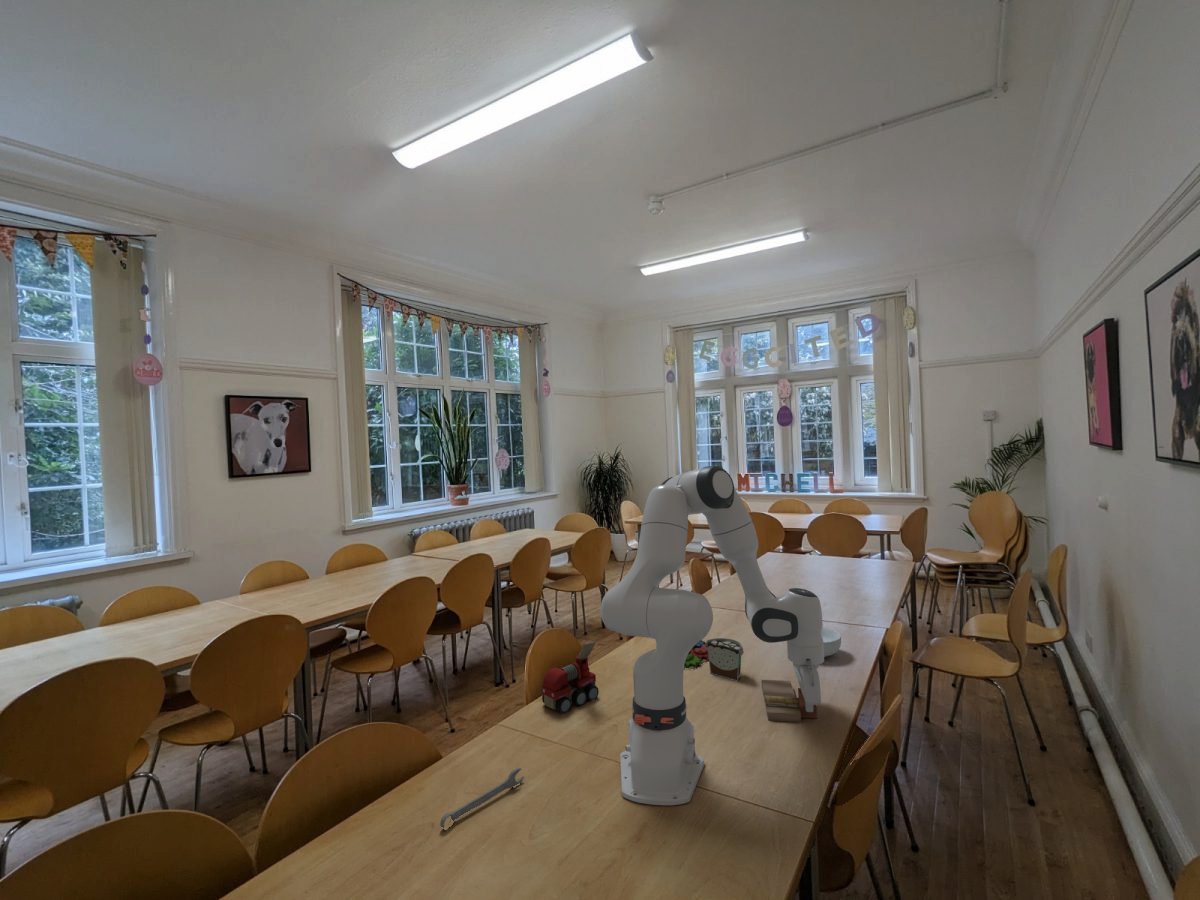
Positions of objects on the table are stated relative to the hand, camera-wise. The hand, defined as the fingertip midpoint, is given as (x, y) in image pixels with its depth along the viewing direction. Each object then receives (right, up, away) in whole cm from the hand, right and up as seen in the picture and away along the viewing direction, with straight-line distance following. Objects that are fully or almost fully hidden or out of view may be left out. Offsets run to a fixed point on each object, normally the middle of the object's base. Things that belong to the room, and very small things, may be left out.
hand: (807, 706), depth 142 cm
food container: (-14, -3, +27) cm, 31 cm away
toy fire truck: (-61, -5, +12) cm, 62 cm away
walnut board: (-5, -3, +7) cm, 9 cm away
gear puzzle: (-26, -4, +41) cm, 49 cm away
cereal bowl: (+17, -2, +40) cm, 44 cm away
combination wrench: (-77, -6, -31) cm, 83 cm away
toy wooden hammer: (-4, -2, +1) cm, 5 cm away
